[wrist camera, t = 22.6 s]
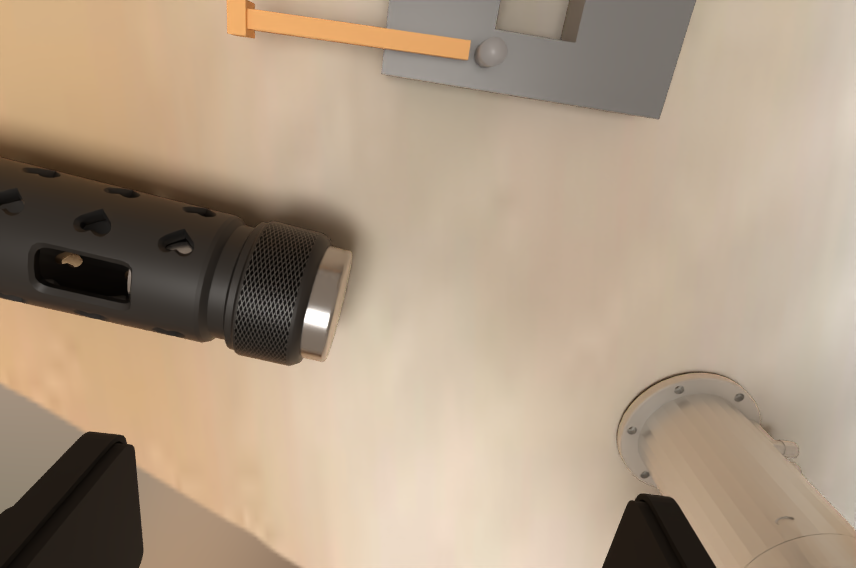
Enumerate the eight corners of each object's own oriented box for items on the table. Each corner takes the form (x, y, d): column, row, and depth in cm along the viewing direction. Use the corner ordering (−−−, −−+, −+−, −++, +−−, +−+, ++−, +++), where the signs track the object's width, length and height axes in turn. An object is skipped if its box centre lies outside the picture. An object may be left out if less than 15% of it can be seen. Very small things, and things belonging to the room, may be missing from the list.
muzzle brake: (-19, 125, 36) (-182, 140, 26) (362, 222, 38) (342, 268, 29) (-11, 248, 39) (-153, 301, 29) (338, 328, 42) (313, 400, 32)
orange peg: (237, 1, 28) (226, -4, 27) (470, 34, 29) (472, 31, 28) (237, 35, 29) (227, 33, 27) (465, 67, 30) (467, 67, 28)
